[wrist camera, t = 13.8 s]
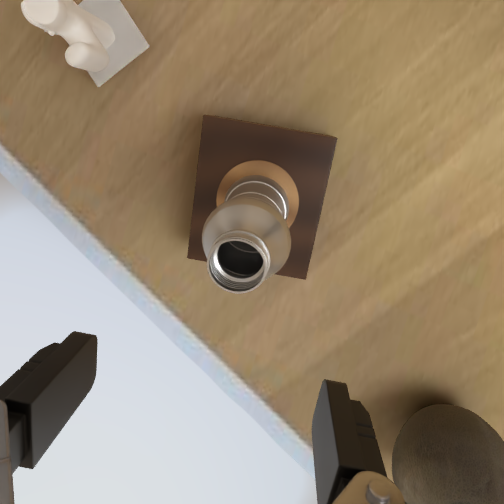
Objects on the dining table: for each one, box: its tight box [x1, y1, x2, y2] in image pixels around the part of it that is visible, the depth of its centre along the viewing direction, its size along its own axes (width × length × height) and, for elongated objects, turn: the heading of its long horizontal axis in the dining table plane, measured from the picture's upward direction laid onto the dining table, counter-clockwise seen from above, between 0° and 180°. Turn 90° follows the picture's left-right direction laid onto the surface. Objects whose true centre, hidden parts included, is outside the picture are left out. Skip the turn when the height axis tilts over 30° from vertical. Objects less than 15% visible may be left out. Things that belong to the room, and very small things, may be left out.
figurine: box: [21, 0, 150, 88], centre depth 37 cm, size 7×9×15 cm
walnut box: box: [187, 115, 337, 279], centre depth 45 cm, size 16×14×6 cm
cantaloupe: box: [392, 404, 504, 504], centre depth 50 cm, size 14×14×15 cm
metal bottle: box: [202, 175, 291, 294], centre depth 33 cm, size 6×7×20 cm
